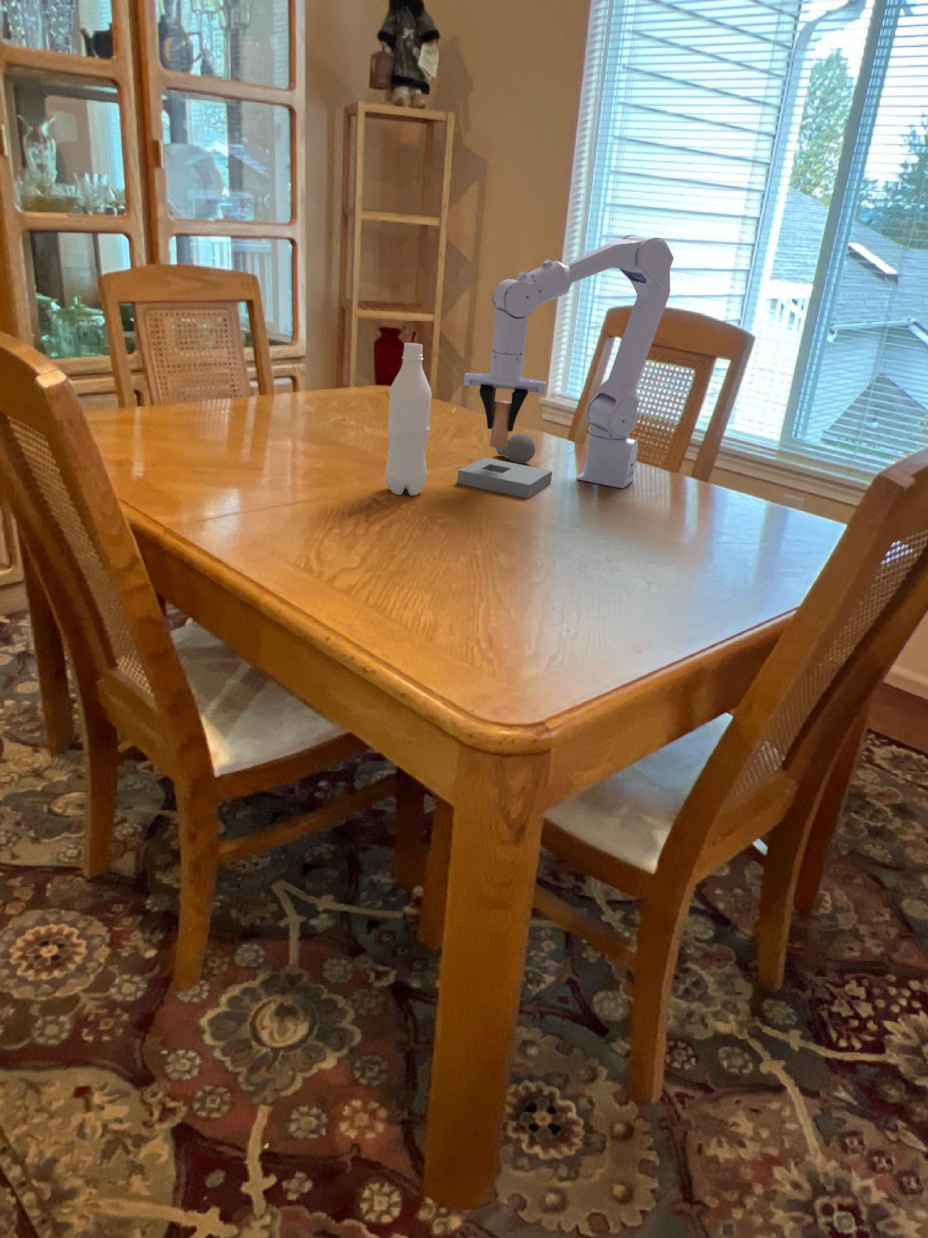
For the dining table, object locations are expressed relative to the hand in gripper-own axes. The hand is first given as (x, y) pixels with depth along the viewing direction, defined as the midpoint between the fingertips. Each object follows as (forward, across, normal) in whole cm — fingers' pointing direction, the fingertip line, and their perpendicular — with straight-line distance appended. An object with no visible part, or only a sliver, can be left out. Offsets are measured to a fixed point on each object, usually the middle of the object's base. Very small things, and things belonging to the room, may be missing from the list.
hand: (500, 428), depth 162 cm
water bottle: (+10, +14, +14) cm, 22 cm away
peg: (+3, 0, 0) cm, 3 cm away
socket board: (+10, -2, 0) cm, 10 cm away
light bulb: (+9, +2, -21) cm, 23 cm away
